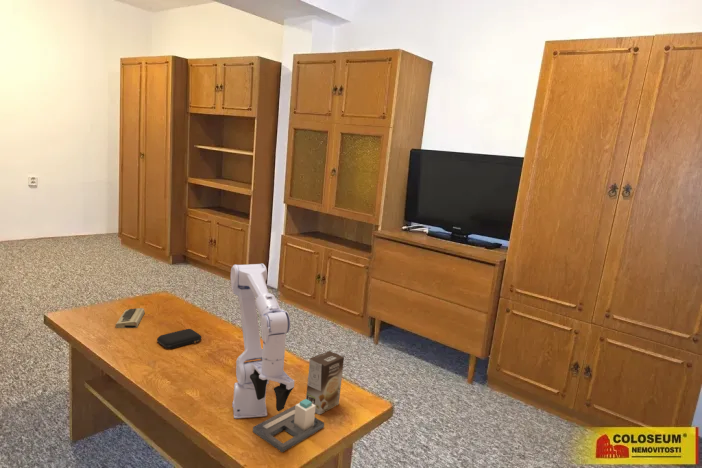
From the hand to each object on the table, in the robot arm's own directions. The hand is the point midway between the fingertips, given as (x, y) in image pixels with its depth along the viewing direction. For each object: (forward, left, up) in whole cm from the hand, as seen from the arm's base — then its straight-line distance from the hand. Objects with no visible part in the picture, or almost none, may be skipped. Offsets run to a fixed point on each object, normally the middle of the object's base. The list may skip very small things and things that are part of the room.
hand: (270, 403), depth 124 cm
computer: (-48, +85, -11) cm, 98 cm away
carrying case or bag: (-27, +63, -11) cm, 69 cm away
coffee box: (+18, +14, -10) cm, 25 cm away
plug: (+10, +3, -10) cm, 15 cm away
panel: (+6, +3, -10) cm, 12 cm away
